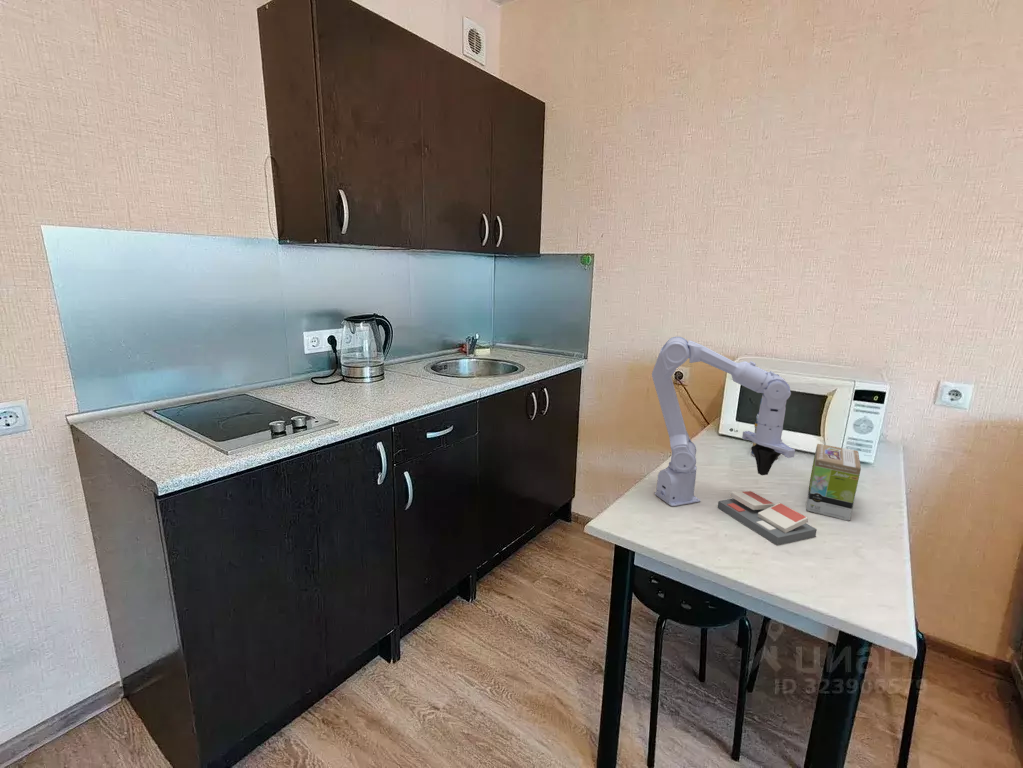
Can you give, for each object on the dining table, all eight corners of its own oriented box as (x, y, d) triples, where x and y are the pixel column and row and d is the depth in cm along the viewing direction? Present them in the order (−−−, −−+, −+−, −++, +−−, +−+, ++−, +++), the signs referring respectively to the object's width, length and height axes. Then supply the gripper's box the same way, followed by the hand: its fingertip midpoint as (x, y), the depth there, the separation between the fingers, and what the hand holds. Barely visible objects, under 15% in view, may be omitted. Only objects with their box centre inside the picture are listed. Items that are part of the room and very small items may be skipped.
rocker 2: (785, 533, 116) (785, 528, 115) (758, 517, 123) (757, 512, 123) (808, 522, 118) (807, 517, 117) (779, 506, 125) (779, 502, 125)
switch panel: (776, 545, 114) (778, 535, 114) (717, 507, 132) (718, 498, 131) (815, 536, 118) (817, 526, 118) (753, 501, 136) (754, 492, 135)
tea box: (851, 522, 126) (862, 467, 122) (805, 511, 131) (814, 458, 127) (849, 499, 138) (859, 449, 134) (807, 490, 143) (815, 441, 140)
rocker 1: (753, 509, 124) (754, 505, 124) (729, 496, 131) (730, 491, 131) (773, 508, 127) (775, 504, 126) (749, 495, 134) (750, 490, 134)
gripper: (807, 431, 120) (798, 483, 123) (759, 414, 133) (752, 461, 136) (785, 434, 117) (777, 487, 120) (738, 416, 130) (732, 464, 134)
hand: (762, 473), depth 128 cm, fingers closed
